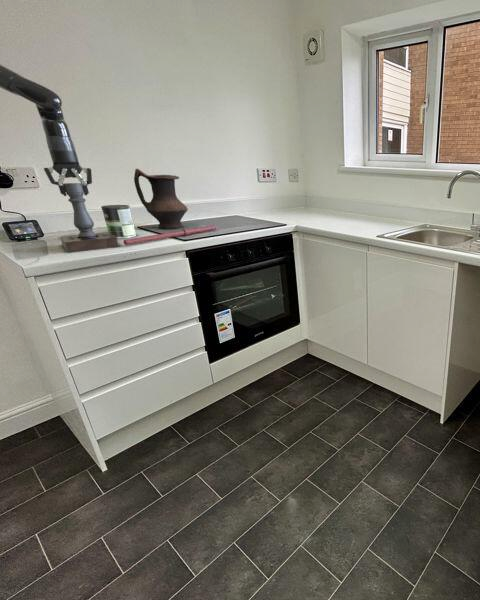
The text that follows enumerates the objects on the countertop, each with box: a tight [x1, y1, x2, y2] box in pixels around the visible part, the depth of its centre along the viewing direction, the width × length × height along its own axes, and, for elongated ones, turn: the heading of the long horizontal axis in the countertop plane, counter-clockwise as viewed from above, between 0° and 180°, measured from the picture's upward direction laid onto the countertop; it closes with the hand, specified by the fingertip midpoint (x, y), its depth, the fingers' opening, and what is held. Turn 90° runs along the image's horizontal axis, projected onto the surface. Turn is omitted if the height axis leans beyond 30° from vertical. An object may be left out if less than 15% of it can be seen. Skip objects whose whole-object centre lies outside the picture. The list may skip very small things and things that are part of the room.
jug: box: [133, 168, 188, 230], centre depth 185 cm, size 21×18×30 cm
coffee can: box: [100, 204, 137, 240], centre depth 163 cm, size 10×10×14 cm
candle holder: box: [63, 182, 96, 238], centre depth 142 cm, size 6×6×25 cm
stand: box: [59, 231, 120, 253], centre depth 146 cm, size 16×16×4 cm
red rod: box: [122, 225, 217, 246], centre depth 167 cm, size 45×3×3 cm, turn 157°
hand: (75, 195), depth 139 cm, fingers closed on candle holder, 5 cm apart
